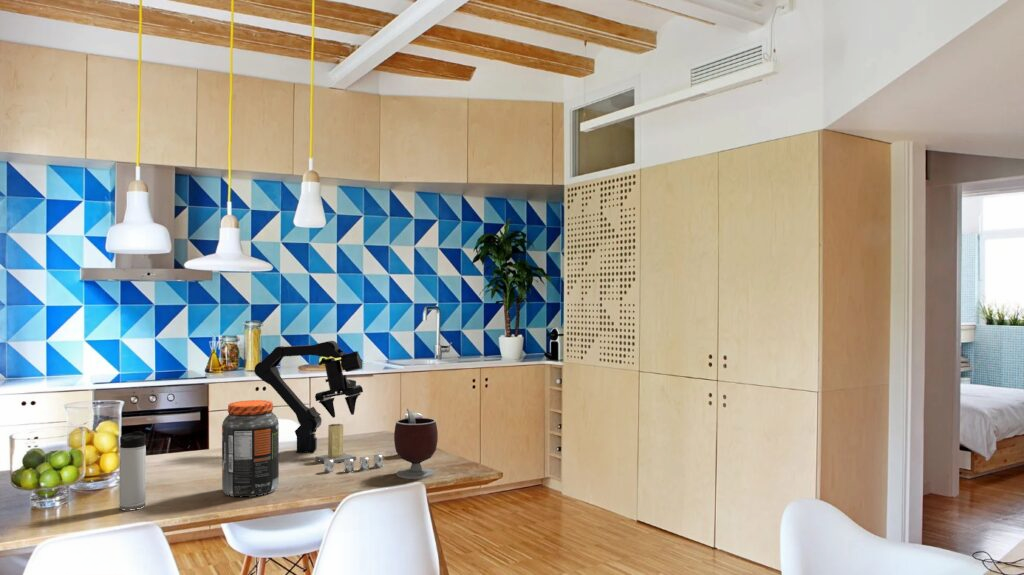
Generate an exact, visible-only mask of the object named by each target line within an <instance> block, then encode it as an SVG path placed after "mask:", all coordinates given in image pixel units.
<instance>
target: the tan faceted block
mask: <svg viewBox="0 0 1024 575" xmlns="http://www.w3.org/2000/svg"><path fill="white" fill-rule="evenodd" d="M327 428H328V429H327V431H328V433H327V434H328V435H327V439H328V440H327V441H328V442H327V444H328V445H327V446H328V447H327V448H328V449H327V450H328V453H327V455H328V457H330V458H340V457H342V456H343V453H344V424H341V423H331V424H328V427H327Z"/></svg>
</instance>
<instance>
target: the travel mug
mask: <svg viewBox="0 0 1024 575" xmlns="http://www.w3.org/2000/svg"><path fill="white" fill-rule="evenodd" d="M146 438H147V437H146V433H144V432H143V431H134V432H129V433H125V434H123V435H121V436H120V437H119V443H120V444H119V499H118V500H119V504H118V506H119V507H118V508H120V509H125V510H130V509H137V508H141V507H143V506H145V507H146V494H147V493H146V489H147V488H146V486H147V482H146V480H147V479H146V476H147V475H146V472H147V470H146V469H147V461H146V460H147V459H146V458H147V449H146V446H147V445H146V440H147V439H146ZM120 509H119V510H120Z"/></svg>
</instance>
